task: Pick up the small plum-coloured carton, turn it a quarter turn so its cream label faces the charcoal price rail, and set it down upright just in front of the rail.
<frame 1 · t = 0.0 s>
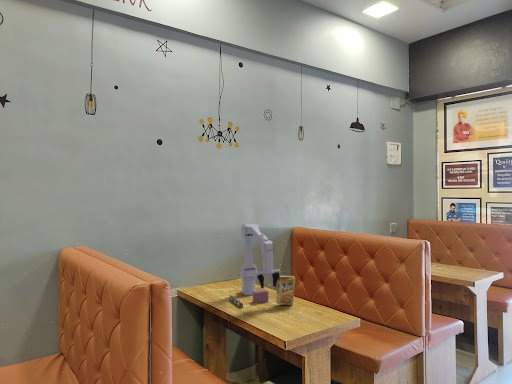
hand: (268, 287, 200), 10 cm above the table, tool pointing down, fingers open, 7 cm apart
candy box: (284, 304, 200), on the table, touching gripper
price rail: (236, 303, 205), on the table
carton: (260, 301, 208), on the table
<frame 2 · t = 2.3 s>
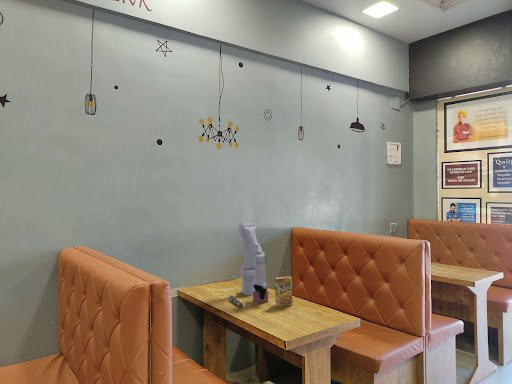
hand: (260, 298, 208), 2 cm above the table, tool pointing down, fingers closed on carton, 4 cm apart
candy box: (284, 305, 200), on the table
carton: (260, 301, 208), on the table, touching gripper
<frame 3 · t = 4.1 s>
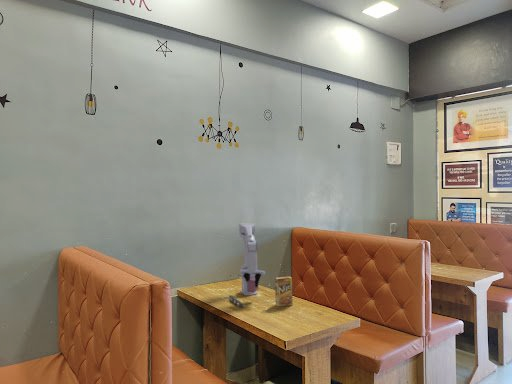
hand: (252, 286, 207), 9 cm above the table, tool pointing down, fingers closed on carton, 4 cm apart
carton: (253, 290, 207), point 7 cm above the table, touching gripper
everything else where it was.
when the fingers open (3 cm above the table, at t = 6.4 s): carton stays where it is, on the table.
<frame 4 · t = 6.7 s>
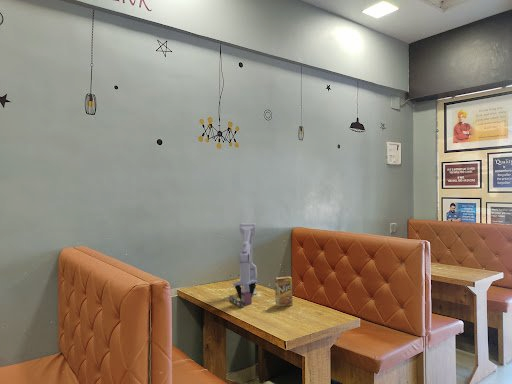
hand: (245, 297, 206), 3 cm above the table, tool pointing down, fingers open, 6 cm apart
carton: (245, 302, 206), on the table
everything else where it was.
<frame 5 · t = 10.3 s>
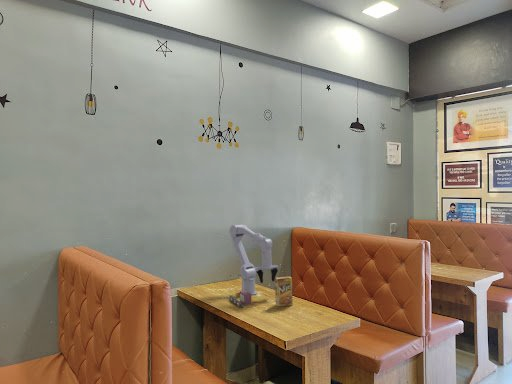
hand: (267, 281, 215), 9 cm above the table, tool pointing down, fingers open, 7 cm apart
nothing on the table moved.
at the end: carton 0.2 cm from the target spot, on the table; carton tilted 0°; the gripper is holding nothing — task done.
